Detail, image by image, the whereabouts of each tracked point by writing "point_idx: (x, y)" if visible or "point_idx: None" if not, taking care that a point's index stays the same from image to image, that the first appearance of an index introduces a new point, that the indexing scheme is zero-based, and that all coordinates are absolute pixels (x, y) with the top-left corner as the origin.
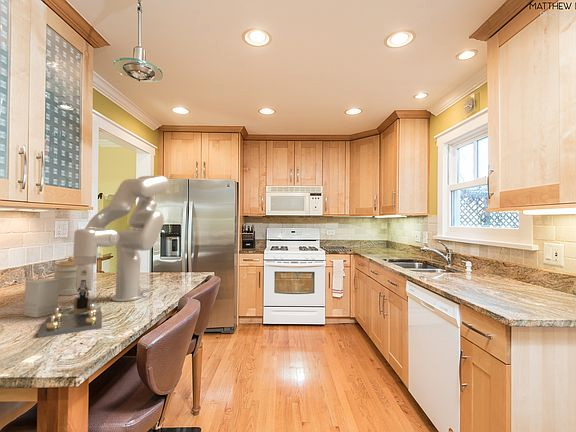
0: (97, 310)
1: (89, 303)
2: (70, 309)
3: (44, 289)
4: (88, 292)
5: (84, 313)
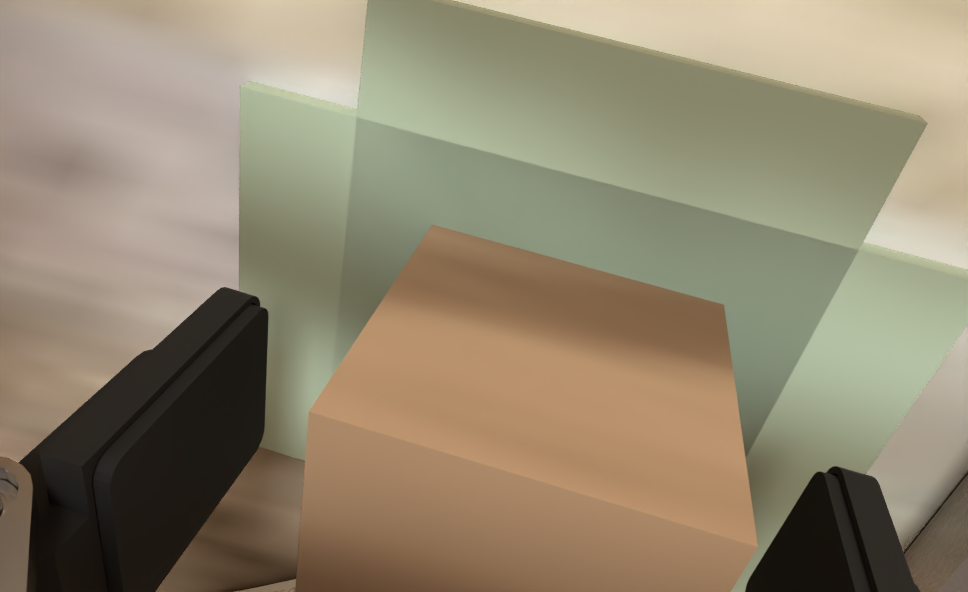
0: (753, 158)
1: (731, 442)
2: (304, 459)
3: None
4: (79, 469)
5: (784, 407)
